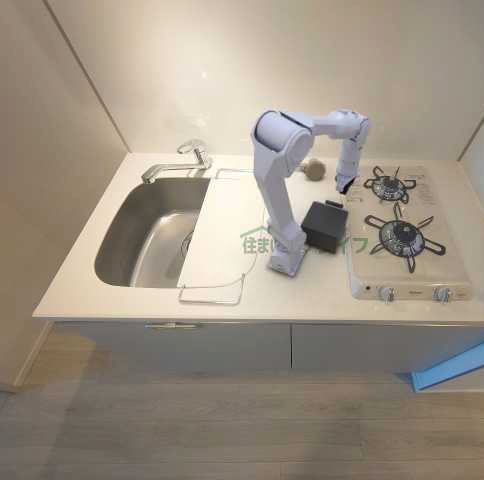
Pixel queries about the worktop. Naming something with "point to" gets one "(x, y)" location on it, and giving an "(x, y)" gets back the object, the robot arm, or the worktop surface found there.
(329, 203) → the drawer
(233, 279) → the worktop surface
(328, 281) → the worktop surface
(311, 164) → the mug
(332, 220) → the cabinet
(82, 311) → the worktop surface
